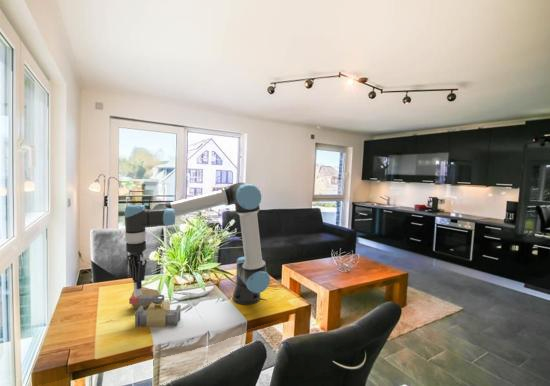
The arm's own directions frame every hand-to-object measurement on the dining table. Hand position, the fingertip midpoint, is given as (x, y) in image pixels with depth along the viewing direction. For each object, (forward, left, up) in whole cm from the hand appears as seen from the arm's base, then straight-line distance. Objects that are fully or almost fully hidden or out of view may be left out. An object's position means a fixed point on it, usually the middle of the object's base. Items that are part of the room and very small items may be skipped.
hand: (138, 295), depth 119 cm
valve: (-7, -5, -15) cm, 18 cm away
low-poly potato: (+4, -20, -16) cm, 26 cm away
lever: (-2, -5, -6) cm, 8 cm away
